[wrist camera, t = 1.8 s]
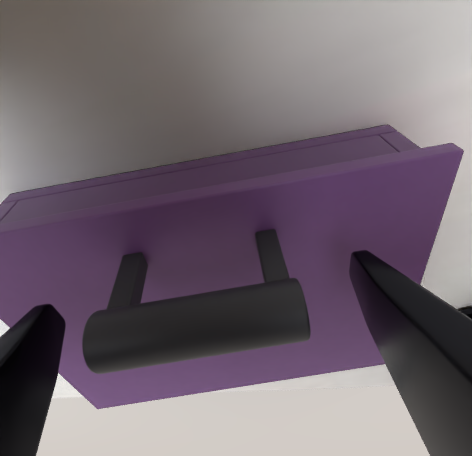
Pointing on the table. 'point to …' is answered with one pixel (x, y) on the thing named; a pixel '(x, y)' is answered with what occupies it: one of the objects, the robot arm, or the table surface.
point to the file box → (204, 172)
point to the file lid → (224, 275)
